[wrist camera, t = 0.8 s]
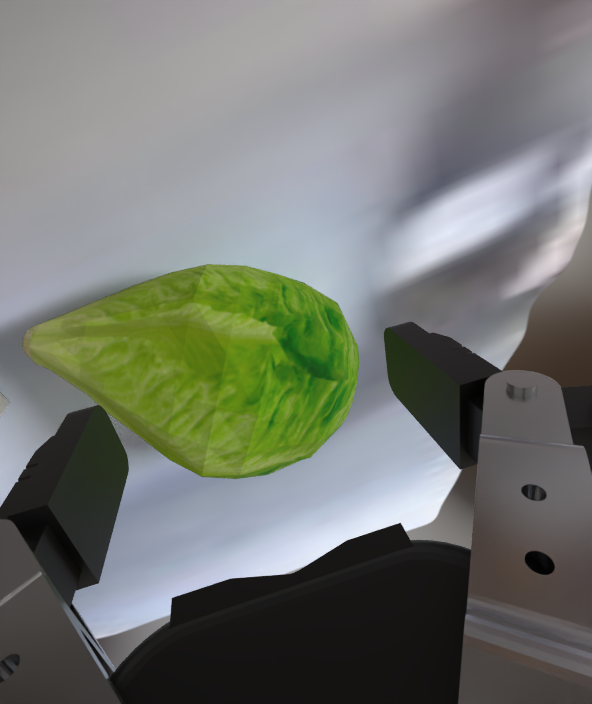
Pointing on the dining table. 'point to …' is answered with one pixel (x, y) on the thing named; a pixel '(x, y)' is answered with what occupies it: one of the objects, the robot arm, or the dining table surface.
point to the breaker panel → (3, 404)
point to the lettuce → (212, 366)
